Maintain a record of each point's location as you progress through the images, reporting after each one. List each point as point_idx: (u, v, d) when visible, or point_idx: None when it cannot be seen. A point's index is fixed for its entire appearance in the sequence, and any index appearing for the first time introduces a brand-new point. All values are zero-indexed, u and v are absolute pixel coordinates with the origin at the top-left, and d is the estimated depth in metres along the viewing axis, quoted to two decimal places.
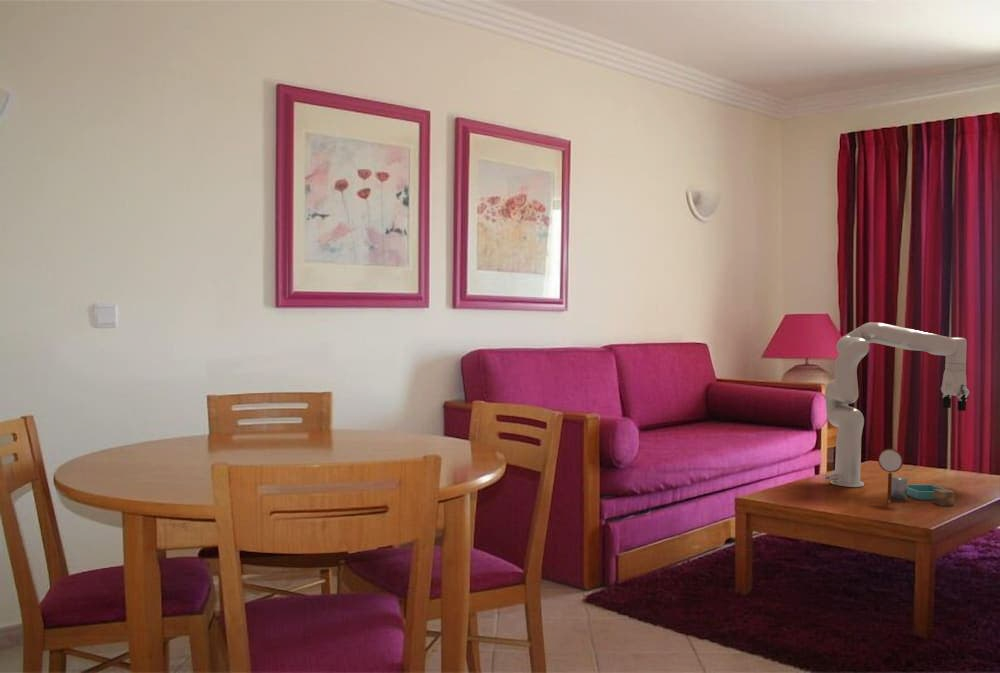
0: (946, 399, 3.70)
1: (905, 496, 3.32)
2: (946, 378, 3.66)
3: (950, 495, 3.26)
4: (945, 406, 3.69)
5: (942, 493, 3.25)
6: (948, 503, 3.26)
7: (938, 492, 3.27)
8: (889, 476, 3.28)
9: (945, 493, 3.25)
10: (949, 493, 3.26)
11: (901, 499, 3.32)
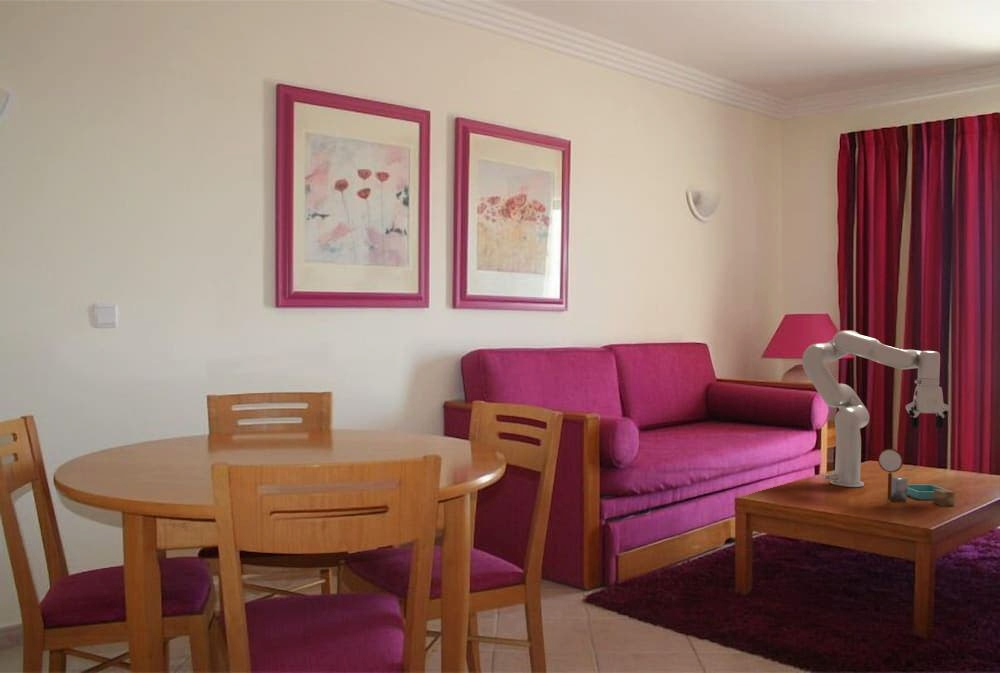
0: None
1: (905, 496, 3.32)
2: (927, 395, 3.38)
3: (950, 495, 3.26)
4: None
5: (942, 493, 3.25)
6: (948, 503, 3.26)
7: (938, 492, 3.27)
8: (889, 476, 3.28)
9: (945, 493, 3.25)
10: (949, 493, 3.26)
11: (901, 499, 3.32)
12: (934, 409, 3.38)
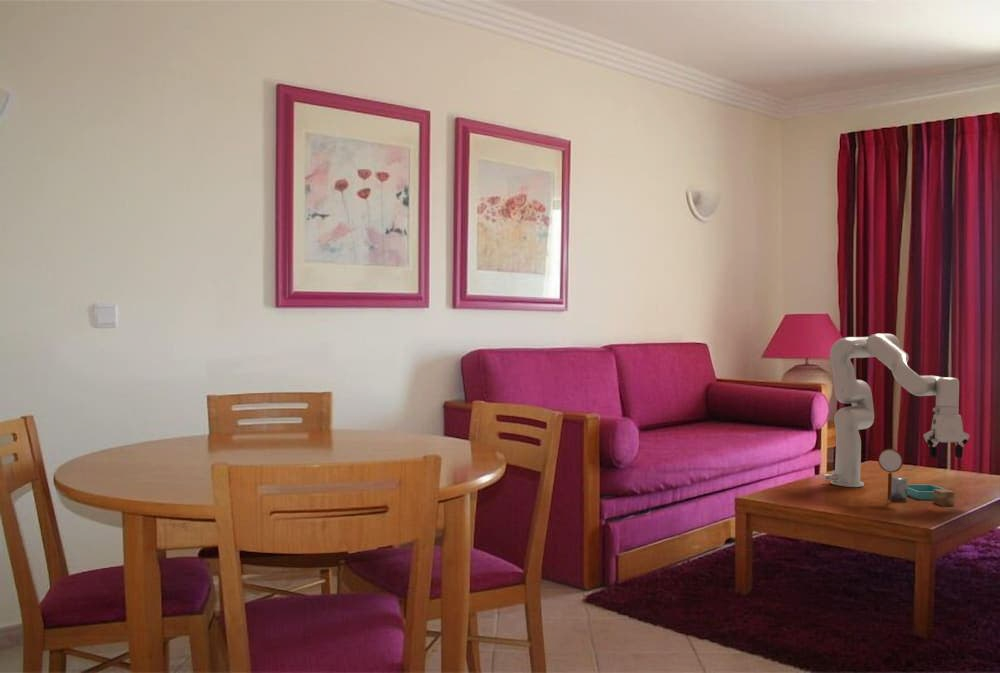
0: None
1: (905, 496, 3.32)
2: (946, 424, 3.24)
3: (950, 495, 3.26)
4: None
5: (942, 493, 3.25)
6: (948, 503, 3.26)
7: (938, 492, 3.27)
8: (889, 476, 3.28)
9: (945, 493, 3.25)
10: (949, 493, 3.26)
11: (901, 499, 3.32)
12: (953, 438, 3.24)
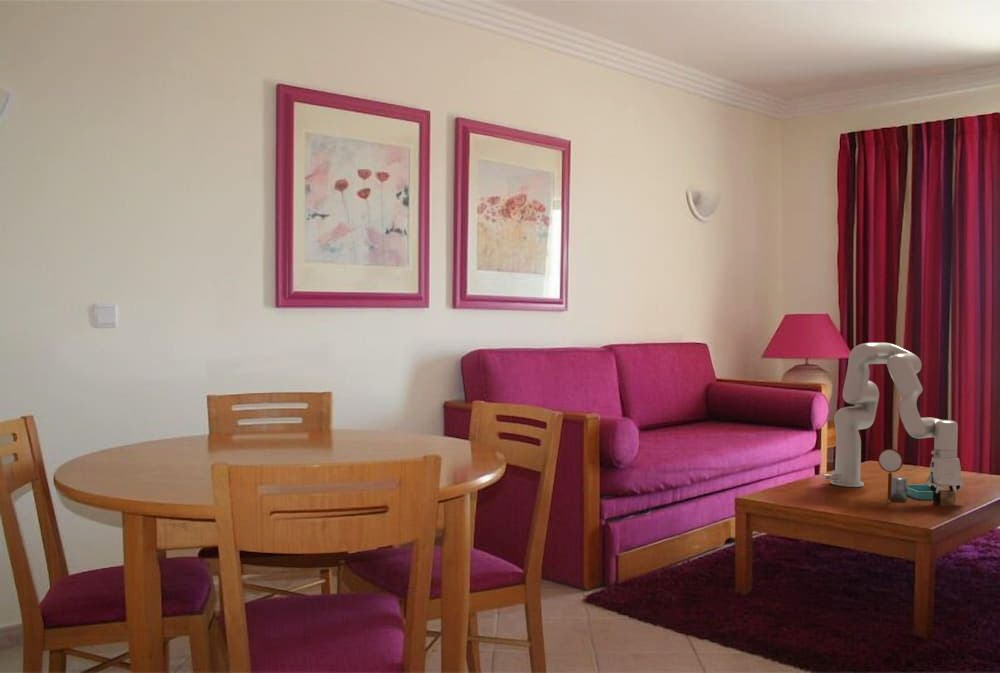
0: None
1: (905, 496, 3.32)
2: (944, 467, 3.25)
3: (950, 495, 3.26)
4: None
5: (942, 493, 3.25)
6: (948, 503, 3.26)
7: None
8: (889, 476, 3.28)
9: (945, 493, 3.25)
10: (949, 493, 3.26)
11: (901, 499, 3.32)
12: (951, 481, 3.25)
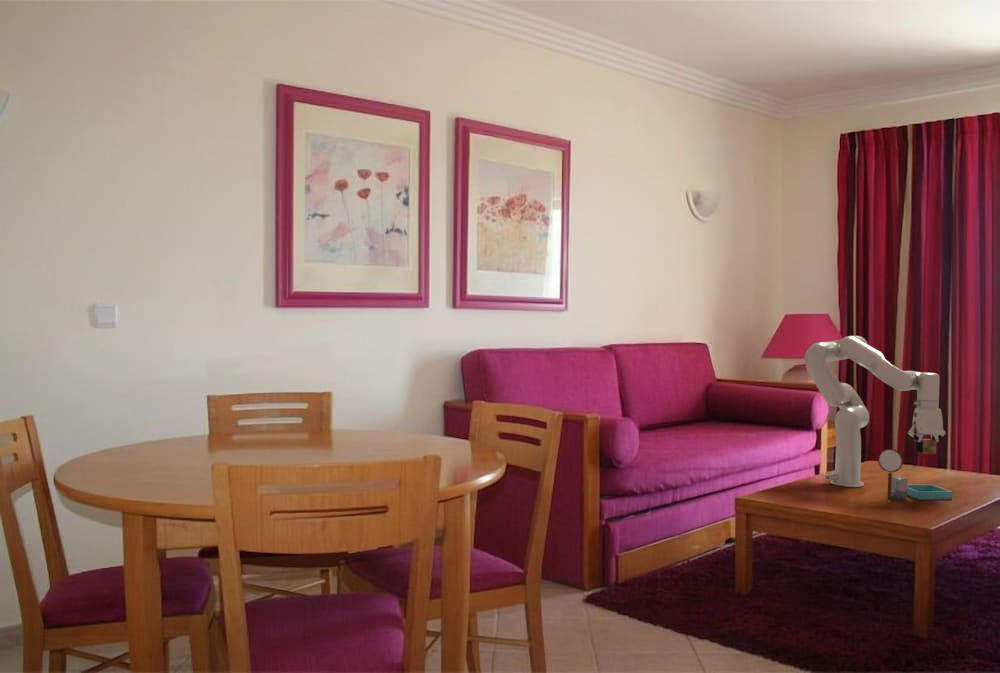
0: None
1: (905, 496, 3.32)
2: (927, 417, 3.38)
3: (932, 444, 3.39)
4: None
5: (924, 442, 3.39)
6: (930, 451, 3.39)
7: (921, 441, 3.41)
8: (889, 476, 3.28)
9: (928, 442, 3.39)
10: (931, 442, 3.39)
11: (901, 499, 3.32)
12: (933, 431, 3.39)
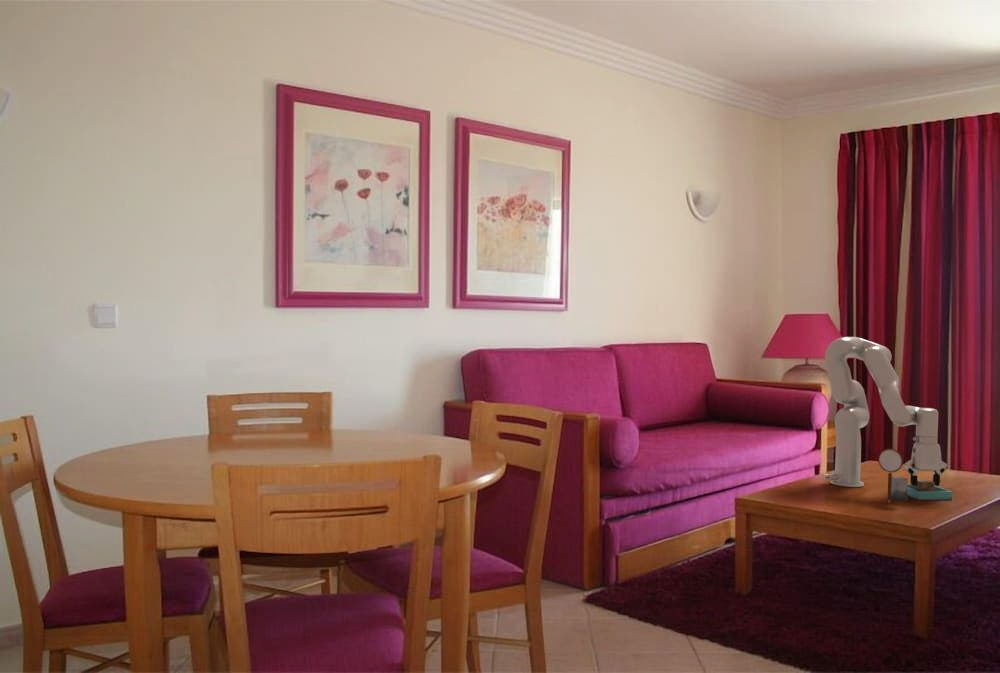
0: None
1: (905, 496, 3.32)
2: (925, 453, 3.39)
3: (930, 485, 3.40)
4: None
5: (923, 483, 3.39)
6: None
7: (919, 483, 3.41)
8: (889, 476, 3.28)
9: (926, 484, 3.39)
10: (929, 483, 3.40)
11: (901, 499, 3.32)
12: (932, 467, 3.39)
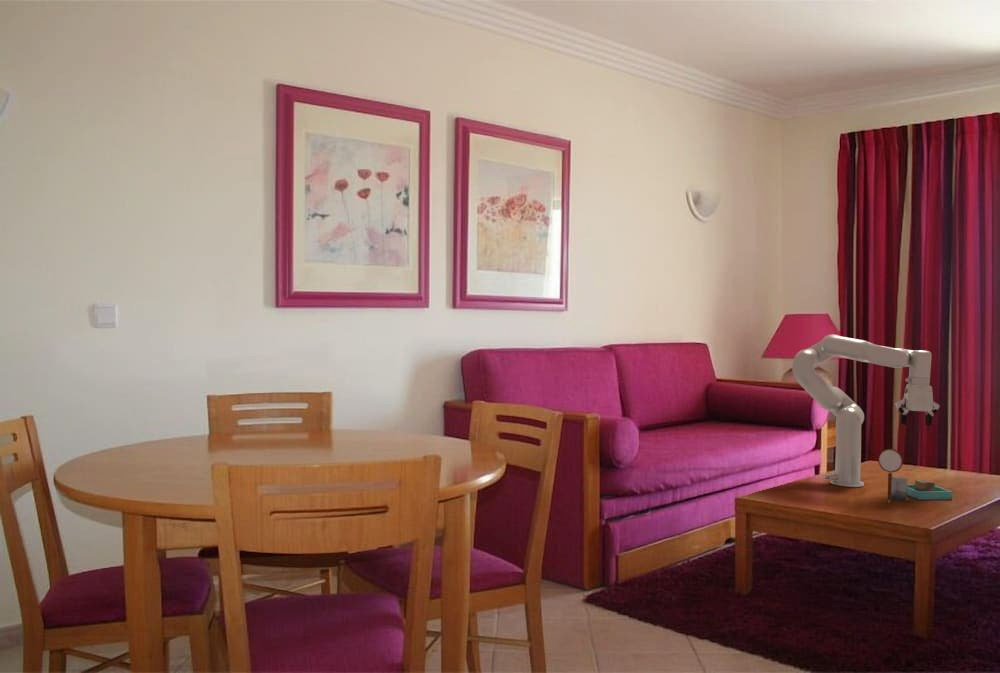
0: None
1: (905, 496, 3.32)
2: (917, 393, 3.46)
3: (930, 485, 3.40)
4: None
5: (923, 483, 3.39)
6: None
7: (919, 483, 3.41)
8: (889, 476, 3.28)
9: (926, 484, 3.39)
10: (929, 483, 3.40)
11: (901, 499, 3.32)
12: (923, 407, 3.46)
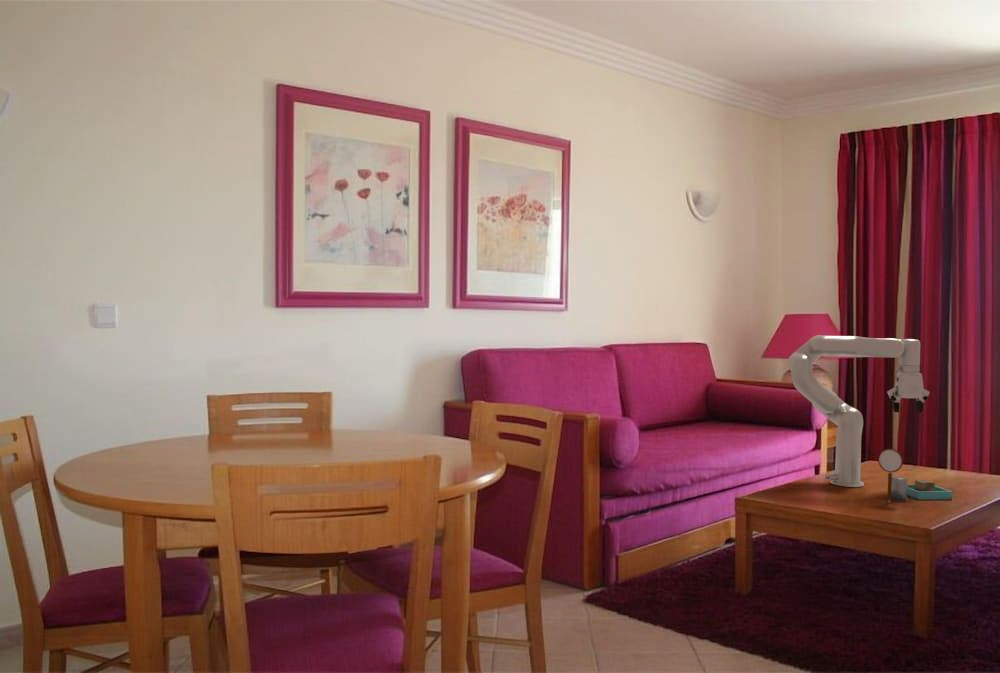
0: None
1: (905, 496, 3.32)
2: (908, 381, 3.55)
3: (930, 485, 3.40)
4: None
5: (923, 483, 3.39)
6: None
7: (919, 483, 3.41)
8: (889, 476, 3.28)
9: (926, 484, 3.39)
10: (929, 483, 3.40)
11: (901, 499, 3.32)
12: (914, 394, 3.55)
